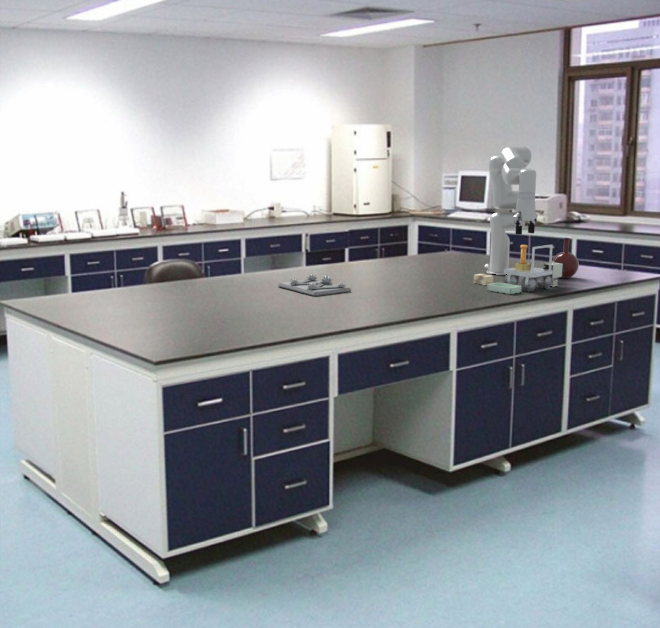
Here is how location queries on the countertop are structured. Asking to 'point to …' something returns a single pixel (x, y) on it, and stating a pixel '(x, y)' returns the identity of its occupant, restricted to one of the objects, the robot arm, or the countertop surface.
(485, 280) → the block
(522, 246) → the pin
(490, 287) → the tray
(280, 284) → the decorative plate
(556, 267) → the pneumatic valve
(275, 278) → the countertop surface
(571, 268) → the round-bottom flask
